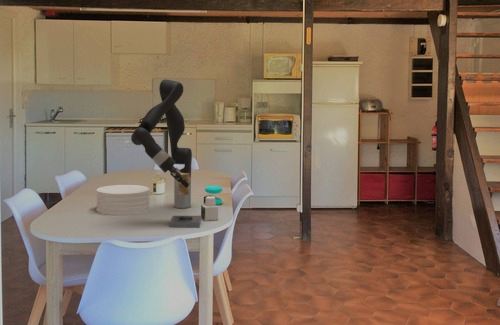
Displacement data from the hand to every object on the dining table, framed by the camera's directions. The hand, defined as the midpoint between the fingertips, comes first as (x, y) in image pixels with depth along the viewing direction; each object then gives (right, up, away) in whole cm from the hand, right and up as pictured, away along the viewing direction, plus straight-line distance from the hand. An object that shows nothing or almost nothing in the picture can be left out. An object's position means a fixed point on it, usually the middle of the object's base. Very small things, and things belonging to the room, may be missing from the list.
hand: (188, 185), depth 273 cm
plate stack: (-39, -15, +30) cm, 51 cm away
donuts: (+9, -13, +50) cm, 53 cm away
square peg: (-2, -4, 0) cm, 5 cm away
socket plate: (-1, -19, 0) cm, 19 cm away
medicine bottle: (+10, -18, +11) cm, 23 cm away
